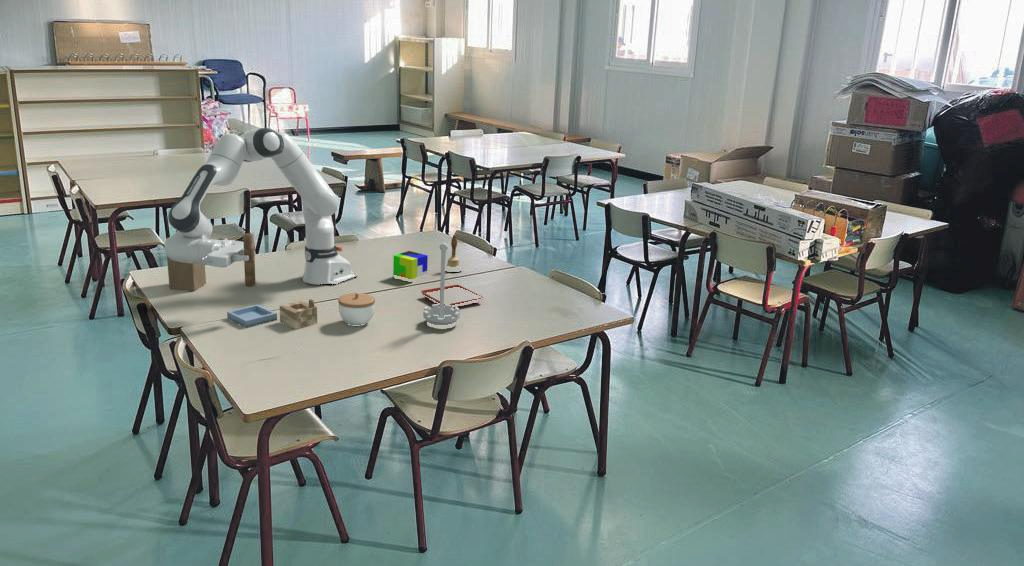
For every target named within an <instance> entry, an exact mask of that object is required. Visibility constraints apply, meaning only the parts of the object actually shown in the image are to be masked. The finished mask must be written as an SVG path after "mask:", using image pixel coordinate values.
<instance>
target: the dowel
mask: <svg viewBox="0 0 1024 566" xmlns="http://www.w3.org/2000/svg"><path fill="white" fill-rule="evenodd" d="M242 237H243V238H242V239H243V241H242V242H244V255H249V256H250V259H249V260H248V261H243V263H244V284H245V285H244V286H245V287H248V288H251V287H255V286H256V285H257V284H256V283H257V282H256V264H255V262H256V261H255V257H256V255H255V254H256V253H255V254H254V251H255V235H254V233H248V232H246V233H243V235H242Z"/></svg>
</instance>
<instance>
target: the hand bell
mask: <svg viewBox="0 0 1024 566" xmlns="http://www.w3.org/2000/svg"><path fill="white" fill-rule="evenodd" d="M457 247H458V237H457V234H453V235H452V238H451V256H450V257H449V258H448V259H447V263H446V266H450V267H456V266H460V263H459V261H460V260H459V258H458V257H456V256H457V255H456V250H457Z"/></svg>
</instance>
